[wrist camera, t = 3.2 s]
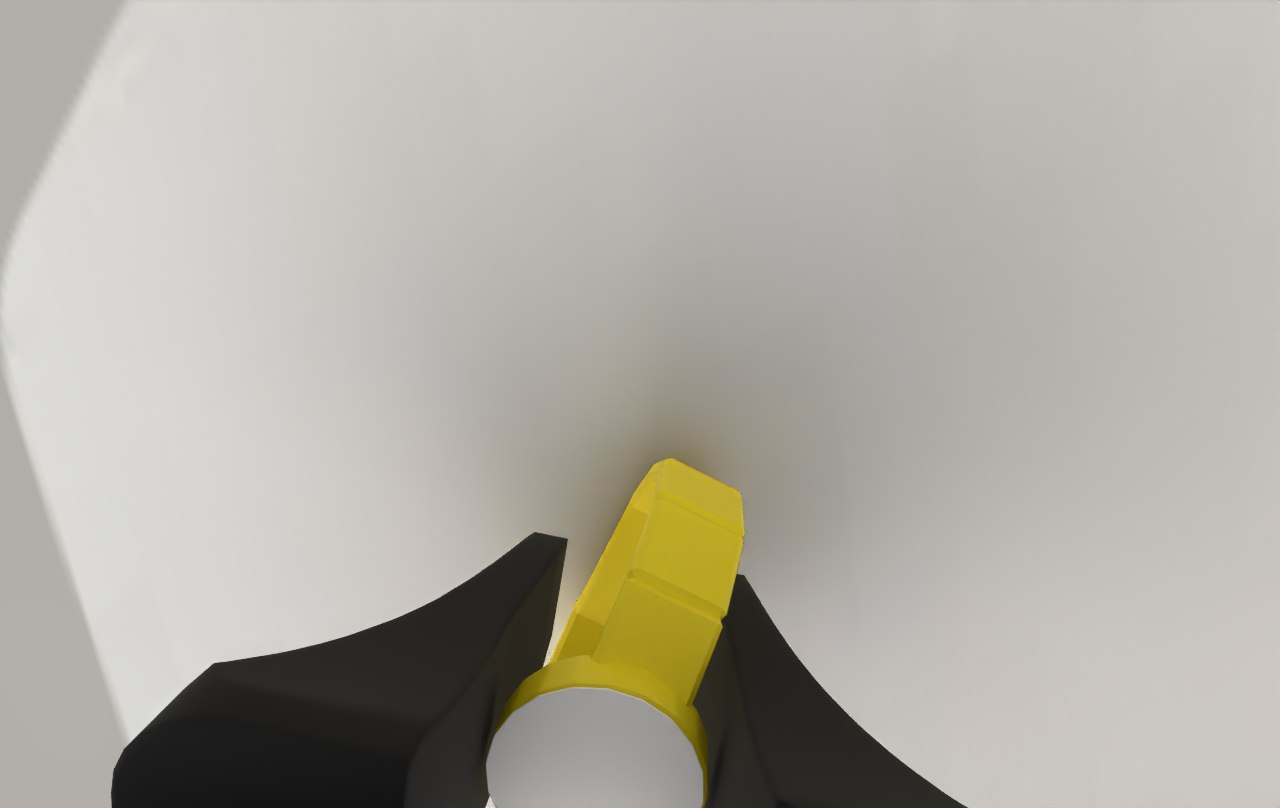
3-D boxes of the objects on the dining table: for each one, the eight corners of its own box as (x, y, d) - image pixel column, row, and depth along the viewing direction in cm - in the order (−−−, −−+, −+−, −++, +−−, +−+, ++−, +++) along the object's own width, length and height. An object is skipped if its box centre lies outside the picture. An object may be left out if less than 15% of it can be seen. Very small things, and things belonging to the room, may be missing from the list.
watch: (636, 696, 16) (589, 990, 10) (517, 640, 16) (404, 905, 10) (774, 464, 14) (811, 663, 8) (641, 398, 14) (587, 555, 8)
